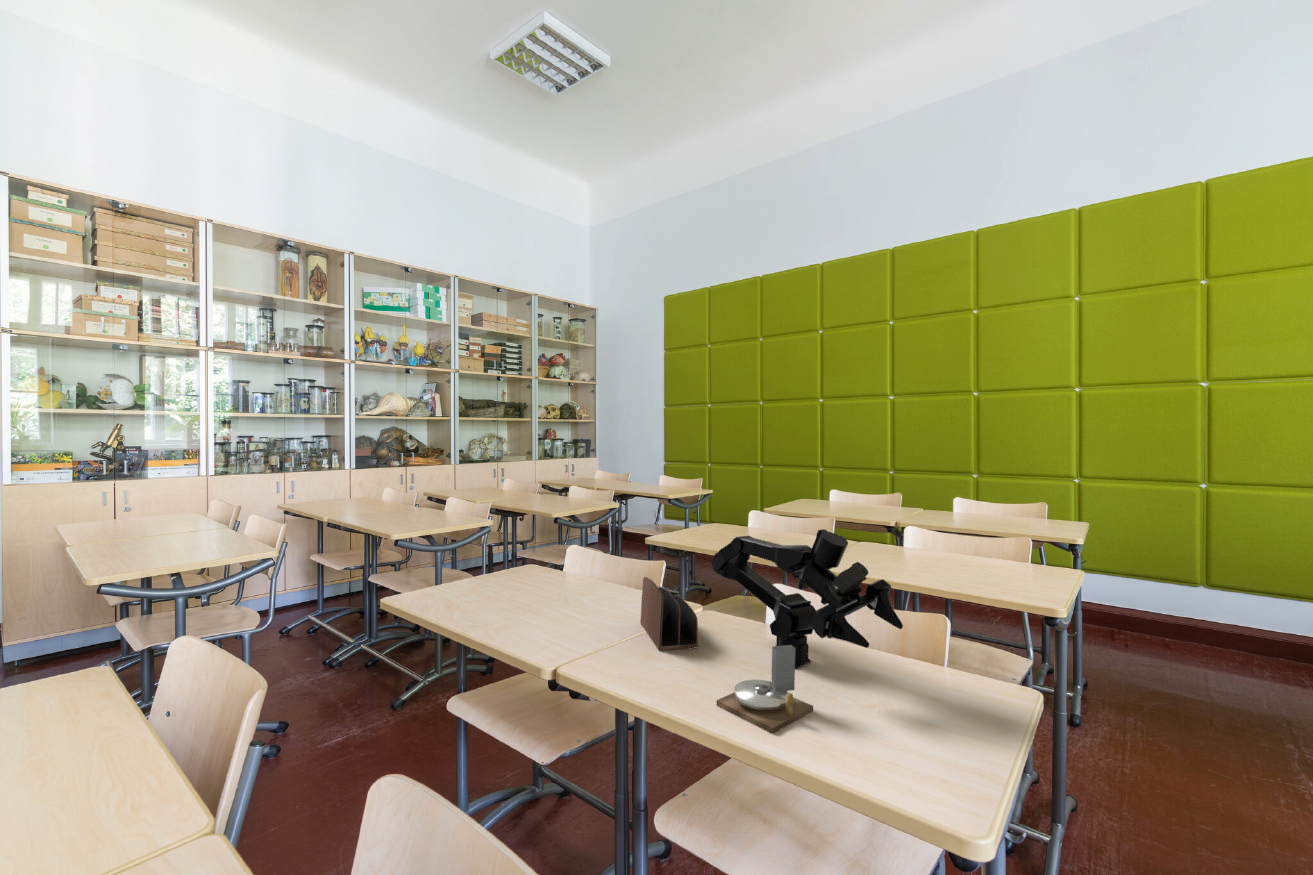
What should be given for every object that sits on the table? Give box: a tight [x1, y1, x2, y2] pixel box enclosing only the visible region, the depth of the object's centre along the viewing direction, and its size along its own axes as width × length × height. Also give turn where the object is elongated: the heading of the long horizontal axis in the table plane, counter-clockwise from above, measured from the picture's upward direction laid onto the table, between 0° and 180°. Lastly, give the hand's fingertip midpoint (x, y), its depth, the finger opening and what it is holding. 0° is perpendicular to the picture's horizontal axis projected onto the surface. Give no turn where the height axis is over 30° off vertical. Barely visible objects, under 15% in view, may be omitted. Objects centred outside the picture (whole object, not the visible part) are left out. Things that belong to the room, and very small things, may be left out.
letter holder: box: [640, 576, 699, 652], centre depth 142 cm, size 10×20×14 cm, turn 15°
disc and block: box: [733, 645, 796, 711], centre depth 104 cm, size 12×10×9 cm
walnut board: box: [716, 692, 814, 734], centre depth 104 cm, size 13×13×5 cm
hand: (885, 636), depth 106 cm, fingers open, 9 cm apart
